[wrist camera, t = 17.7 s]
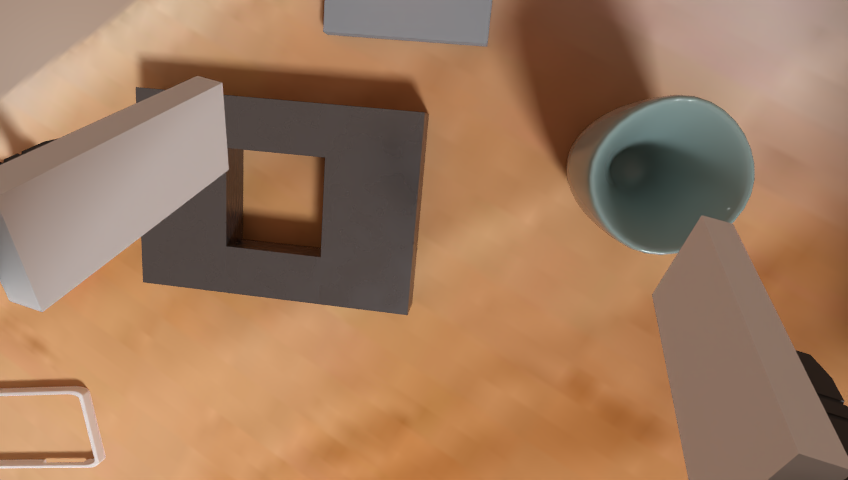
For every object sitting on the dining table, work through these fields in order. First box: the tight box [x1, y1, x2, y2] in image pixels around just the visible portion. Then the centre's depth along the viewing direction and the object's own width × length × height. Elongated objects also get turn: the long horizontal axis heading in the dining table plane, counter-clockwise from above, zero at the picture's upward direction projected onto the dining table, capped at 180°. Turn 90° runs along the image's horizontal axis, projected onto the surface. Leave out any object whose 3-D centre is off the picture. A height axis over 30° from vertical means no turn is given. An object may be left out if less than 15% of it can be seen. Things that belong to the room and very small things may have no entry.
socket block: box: [136, 87, 429, 315], centre depth 35 cm, size 20×14×2 cm
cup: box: [566, 95, 754, 255], centre depth 29 cm, size 8×8×10 cm
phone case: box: [0, 386, 106, 468], centre depth 43 cm, size 7×1×15 cm
